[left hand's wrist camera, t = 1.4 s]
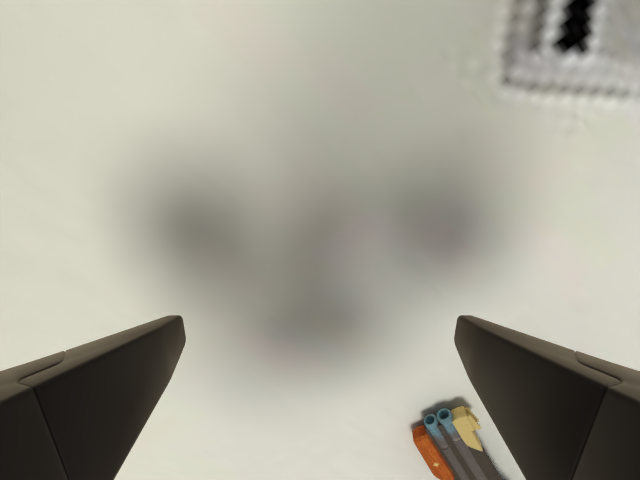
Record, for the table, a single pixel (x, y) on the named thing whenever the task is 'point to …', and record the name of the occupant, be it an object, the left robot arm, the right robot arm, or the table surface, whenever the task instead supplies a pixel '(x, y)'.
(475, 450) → the toy gun
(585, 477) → the left robot arm
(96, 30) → the table surface
